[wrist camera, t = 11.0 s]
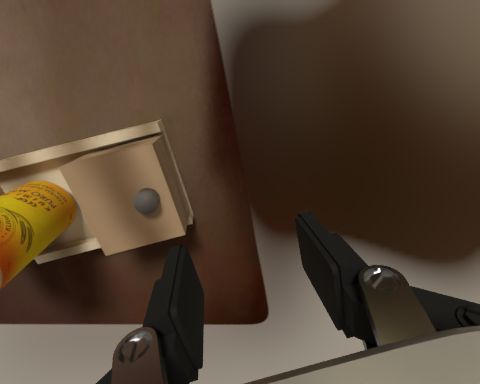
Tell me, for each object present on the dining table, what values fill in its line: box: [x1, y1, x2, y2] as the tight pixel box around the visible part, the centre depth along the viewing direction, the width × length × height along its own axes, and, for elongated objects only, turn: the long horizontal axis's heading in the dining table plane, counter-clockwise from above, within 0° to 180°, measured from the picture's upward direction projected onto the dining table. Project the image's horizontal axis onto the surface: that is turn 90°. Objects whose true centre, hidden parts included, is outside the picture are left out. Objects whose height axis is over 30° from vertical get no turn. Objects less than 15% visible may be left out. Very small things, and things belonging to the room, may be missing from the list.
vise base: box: [0, 120, 194, 264], centre depth 26 cm, size 20×12×8 cm, turn 103°
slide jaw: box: [59, 134, 190, 256], centre depth 25 cm, size 8×9×7 cm
